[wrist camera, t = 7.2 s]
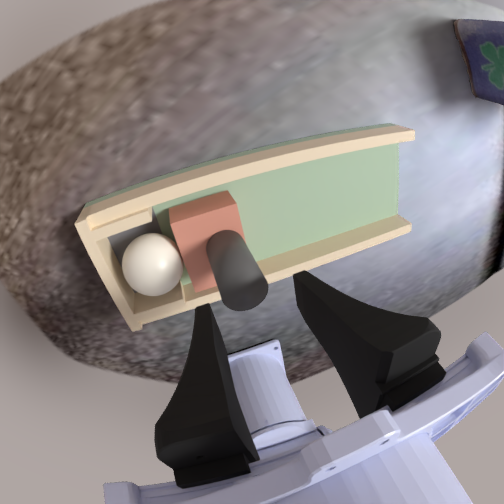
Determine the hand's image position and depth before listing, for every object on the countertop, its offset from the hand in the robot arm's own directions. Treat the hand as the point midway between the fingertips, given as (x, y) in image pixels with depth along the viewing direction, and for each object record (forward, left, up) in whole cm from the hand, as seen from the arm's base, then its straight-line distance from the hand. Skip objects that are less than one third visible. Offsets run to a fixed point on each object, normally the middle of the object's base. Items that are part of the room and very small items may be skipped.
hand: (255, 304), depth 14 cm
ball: (0, +5, -6) cm, 8 cm away
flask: (+11, -29, -10) cm, 32 cm away
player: (0, +1, -8) cm, 8 cm away
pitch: (0, -4, -9) cm, 10 cm away
